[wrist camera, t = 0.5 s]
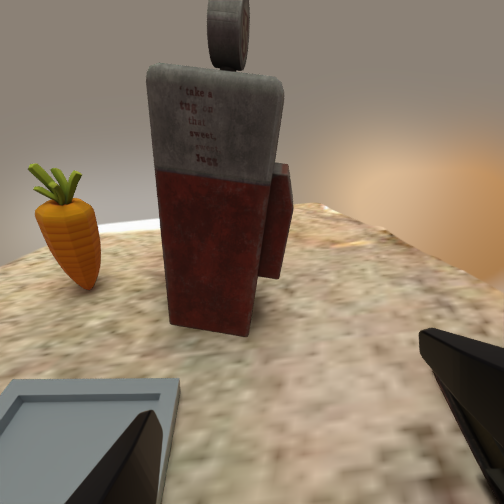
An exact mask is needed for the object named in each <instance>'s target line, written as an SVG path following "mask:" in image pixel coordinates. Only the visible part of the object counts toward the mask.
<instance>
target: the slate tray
mask: <svg viewBox="0 0 504 504" xmlns="http://www.w3.org/2000/svg"><path fill="white" fill-rule="evenodd" d="M179 397H180V380H179V378H142V379H12V381H11V382H10V383H9V385H8V386H7V387H6V388H5V390H4V391H3V392H2V394H1V395H0V504H64V503H65V502H66V501H67V500H68V498H69V497H70V496H71V495H72V494H73V492H74V491H75V490H76V489H77V488H78V486H79V485H80V484H81V483H82V481H83V480H84V479H85V478H86V477H87V475H88V474H89V473H90V472H91V471H92V469H93V468H94V467H95V466H96V465H97V463H98V462H99V461H100V460H101V458H102V457H103V456H104V455H105V454H106V452H107V451H108V450H109V449H110V448H111V446H112V445H113V444H114V443H115V442H116V440H117V439H118V438H119V437H120V435H121V434H122V433H123V432H124V431H125V429H126V428H127V427H128V426H129V425H130V423H131V422H132V421H133V420H134V419H135V417H136V416H137V415H138V414H139V413H141V412H144V411H147V410H154V412H155V413H156V415H157V418H158V420H159V422H160V424H161V426H162V430H163V442H162V453H161V464H160V475H159V486H158V495H157V502H156V504H161V501H162V496H163V490H164V484H165V478H166V472H167V467H168V461H169V455H170V449H171V444H172V438H173V432H174V426H175V420H176V415H177V409H178V403H179Z"/></svg>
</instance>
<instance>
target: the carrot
mask: <svg viewBox="0 0 504 504" xmlns="http://www.w3.org/2000/svg"><path fill="white" fill-rule="evenodd" d="M28 170H29V171H30V172H31V173H32V174H33V175H34V176H35V177H36V178H38V179H39V180H40V181H41V182H42V183H43V184H44V185H45V186H46V187H47V188H48V189H49V190H50V192H49V191H48V190H46V189H44V188H43V187H39V186H38V187H34V189H33V190H35V191H37V192H39V193H41V194H42V195H44V196H46V197H48V198H50V199H52V200H49V201H47V202H45V203H44V204H42V205H41V206H39V207H38V208H37V209H36V210H35V217H36V220H37V222H38V224H39V227H40V229H41V232H42V234H43V236H44V238H45V241H46V243H47V245H48V247H49V249H50V251H51V253H52V254H53V256H54V257H55V259H56V260H57V262H58V263H59V265H60V266H61V268H62V269H63V270H64V272H65V273H66V274H67V275H68V276H69V277H70V278H71V279H72V280H73V281H75V282H76V283H77V284H78V285H79V286H81V287H82V288H84V289H87V290H90V289H91V288H93V286H94V284H95V282H96V279H97V277H98V274H99V269H100V264H101V244H100V237H99V231H98V226H97V221H96V217H95V212H94V209H93V208H92V206H91V205H89V204H87V203H86V202H84V201H82V200H81V199H78V198H73V196H74V193H75V190H76V187H77V184H78V182H79V180H80V178H81V176H82V174H81V173H79V172H77V171H73V172H72V173H71V175H70V177H69V181H68V182H67V180H66V178H65V176H64V175H63V173H62V172H61V170H59V169H57V168H52V169H51V172H52V173H53V175H54V177H55V178H56V180H57V181H58V183H59V185H60V186H59V185H58V184H57V183H55V182H54V180H53V179H52V178H51V177H50V176H49V175H48V174H47V173H46V171H45V170H44V169H42V168H41V166H39V165H38V164H30V166H29V168H28Z"/></svg>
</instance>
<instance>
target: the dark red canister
mask: <svg viewBox="0 0 504 504" xmlns="http://www.w3.org/2000/svg"><path fill="white" fill-rule="evenodd" d="M207 11H208V12H207V37H208V48H209V54H210V59H211V62H212V64H213V66H214V67H215V68H220V70H214V69H206V68H197V67H189V66H181V65H172V64H164V63H157V64H155V65H152V66H150V67H149V69H148V71H147V77H146V85H147V95H148V105H149V115H150V126H151V136H152V147H153V157H154V166H155V177H156V187H157V197H158V207H159V218H160V228H161V238H162V248H163V259H164V269H165V279H166V289H167V299H168V310H169V320H170V324H172V325H177V326H183V327H189V328H195V329H201V330H207V331H213V332H219V333H225V334H230V335H236V336H242V337H247V336H248V335H249V329H250V323H251V316H252V310H253V304H254V298H255V292H256V286H257V279H258V276H259V277H266V278H272V279H279V277H280V272H281V267H282V262H283V257H284V252H285V248H286V243H287V238H288V233H289V228H290V224H291V219H292V214H293V195H292V188H291V180H290V173H289V166H288V164H282V163H275V158H276V151H277V145H278V138H279V131H280V125H281V118H282V110H283V104H284V90H283V86H282V83H281V82H280V81H279V80H278V79H277V78H276V77H272V76H264V75H256V74H248V73H239V72H236V70H238V71H242V70H243V69H244V67H245V64H246V59H247V52H248V42H249V21H250V20H249V19H250V15H249V14H250V13H249V0H209V2H208V10H207Z"/></svg>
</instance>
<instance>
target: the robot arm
mask: <svg viewBox="0 0 504 504" xmlns="http://www.w3.org/2000/svg"><path fill="white" fill-rule="evenodd" d="M419 349H420V354H421V356H422V358H423V359H424V360H425V361H426V363H427V364H428V365H429V366H430V368H431V369H432V370H433V371H434V372H435V374H436V375H437V376H438V377H439V378H440V380H441V381H442V382H443V383H444V384H445V386H446V387H447V388H448V389H449V391H450V392H451V393H452V394H453V395H454V397H455V398H456V399H457V400H458V401H459V402H460V403H461V404H462V405H463V407H464V408H465V409H466V410H467V411H468V412H469V413H470V414H471V415H472V416H473V417H474V418H475V419H476V420H477V421H478V422H479V423H480V424H481V425H482V426H483V427H484V428H485V429H486V430H487V431H488V432H489V433H490V434H491V435H492V436H493V438H494V439H495V440H496V441H497V442H498V443H499V444H500V445H501V446H502V447H503V448H504V348H502V347H498V346H495V345H491V344H488V343H484V342H481V341H477V340H474V339H470V338H467V337H464V336H460V335H457V334H453V333H450V332H446V331H443V330H439V329H436V328H428V329H424V330H421V331H420V332H419ZM162 442H163V430H162V426H161V424H160V422H159V420H158V418H157V415H156V413H155V412H154V410H147V411H144V412H141V413H139V414H138V415H137V416H136V417H135V419H134V420H133V421H132V422H131V423H130V425H129V426H128V427H127V428H126V429H125V431H124V432H123V433H122V434H121V435H120V437H119V438H118V439H117V440H116V442H115V443H114V444H113V445H112V446H111V448H110V449H109V450H108V451H107V452H106V454H105V455H104V456H103V457H102V458H101V460H100V461H99V462H98V463H97V465H96V466H95V467H94V468H93V469H92V471H91V472H90V473H89V474H88V475H87V477H86V478H85V479H84V480H83V481H82V483H81V484H80V485H79V486H78V488H77V489H76V490H75V491H74V492H73V494H72V495H71V496H70V497H69V498H68V500H67V501H66V502H65V503H64V504H156V502H157V495H158V486H159V475H160V464H161V453H162Z"/></svg>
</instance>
